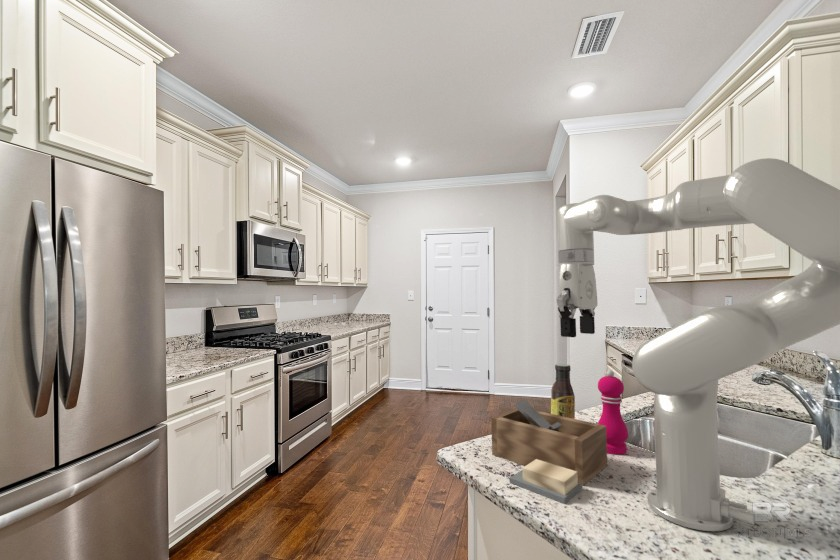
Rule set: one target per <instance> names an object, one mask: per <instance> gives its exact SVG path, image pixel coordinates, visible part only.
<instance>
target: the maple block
mask: <svg viewBox="0 0 840 560" xmlns="http://www.w3.org/2000/svg"><path fill="white" fill-rule="evenodd" d="M521 470H522V474H523V481H526V482H529V483H532V484H535V485H538V486H540V487H543V488H546V489H549V490H552V491H554V492H557V493H560V494H563V495H566V494H567V493H568V492H569V491H570V490H572V489H573V488H574V487H575V486H576V485H577V484H578V476H577V471H574V470H571V469H567V468H564V467H561V466H557V465H554V464H551V463H548V462H544V461H541V460H538V459H536V460H534V461H532V462H531V463H529V464H528V465H526V466H523V467H522V468H521Z"/></svg>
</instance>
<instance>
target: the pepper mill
mask: <svg viewBox="0 0 840 560" xmlns="http://www.w3.org/2000/svg"><path fill="white" fill-rule="evenodd" d="M605 374H606V375H604V376H602V377H600V379H599V380H598V382H597V389H598V391H599V392H600V393H601V394H600V395H599V397H600V399H599V401H600V402H601V403H602V411H601V415H600V418H599V420H598V422H597V424H600V425H604V426H606V439H607V454H609V455H615V456H617V455H620V456H621V455H625V454H626V453H627V450H628V449H627V444H626V441H627V440H628V438H629V429H628V427H627V425H626V423H625V421H624V418H623V417H622V414H621V404H622V403H623V400H622V399H623V397H622V394H623V393H624V391H625V386H624V384H623V383H624V382H623V381H622V380H621V379H620V378H618V377H616V376H614V375H615V372H614V371H613V370H610V369H608V370H607V371H606V373H605Z"/></svg>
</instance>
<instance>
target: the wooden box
mask: <svg viewBox="0 0 840 560" xmlns="http://www.w3.org/2000/svg"><path fill="white" fill-rule="evenodd" d="M536 411H537V412H538V413H539V414H540V415H541V416H542V417H543V418H544V419H545V420H546V421H547V422H548V423H549V424H550V425H553V424H555V423H557V422H559V423H560V424H561V427H560V428H559V429H558V431H560V432H557V431H553V430H549V429H546V428H542V427H538V426H534V425H533V424H532V423H531V422H530V421H529V420H528V419H527V418H526V417H525V416H524V415H523V414H522V413H521V412H520V411H519V410H518V409H517V408H516V407H515V408H513V409H511V410H508V411H506V412H502V413H500V414H498V415H495V416H493V417H491V420H490V421H491V423H490V424H491V454H492V455H493V456H495V457H498V458H502V459H504V460H507V461H510V462H513V463H515V464H518V465H522V466H523V467H525V466H526V465H528V464H529V463H531V462H532V461H534V460H536V459H538V460H541V461H544V462H548V463H551V464H554V465H557V466H561V467H564V468H567V469H571V470H574V471H577V476H578V482H579V483H581V484H582V486H584V485H585V484H587V483H588V482H589V481H591V480H592V479H593V478H594V477H596V476H597V475H598V474H599V473H600V472H601V471H603V470H604V469H605V468H606V467H608V453H607V439H606V426H604V425H600V424H598V423H595V422H590V421H585V420H582V419H576V418H575V419H573V418H568V417H564V416H559V415H555V414H551V412H550V413H549V412H545V411H540V410H536Z"/></svg>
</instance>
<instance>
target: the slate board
mask: <svg viewBox="0 0 840 560" xmlns="http://www.w3.org/2000/svg"><path fill="white" fill-rule="evenodd" d="M508 480H509V483H510V484H513V485H515V486H518V487H520V488H522V489H526V490H528V491H530V492H533V493H536V494H538V495H541V496H543V497H546V498H548V499H551V500H554V501H557V502H559V503H562V504H566V503H567V502H568V501H570V500H571V499H572V498H573V497H575V496H576V495H577V494H579V492H581V491H582V490H583V489H584V488H583V485H582V484H581V483H579V482H578V484H577V485H576V486H575V487H574V488H573V489H572V490H570V491H569V492H568V493H567V494H566V495H563V494H560V493H557V492H554V491H552V490H549V489H546V488H543V487H540V486H538V485H535V484H532V483H529V482H526V481H523V474H522V469H521V470H520V471H518V472H516V473H515V474H512V476H510V477H509V479H508Z"/></svg>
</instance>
